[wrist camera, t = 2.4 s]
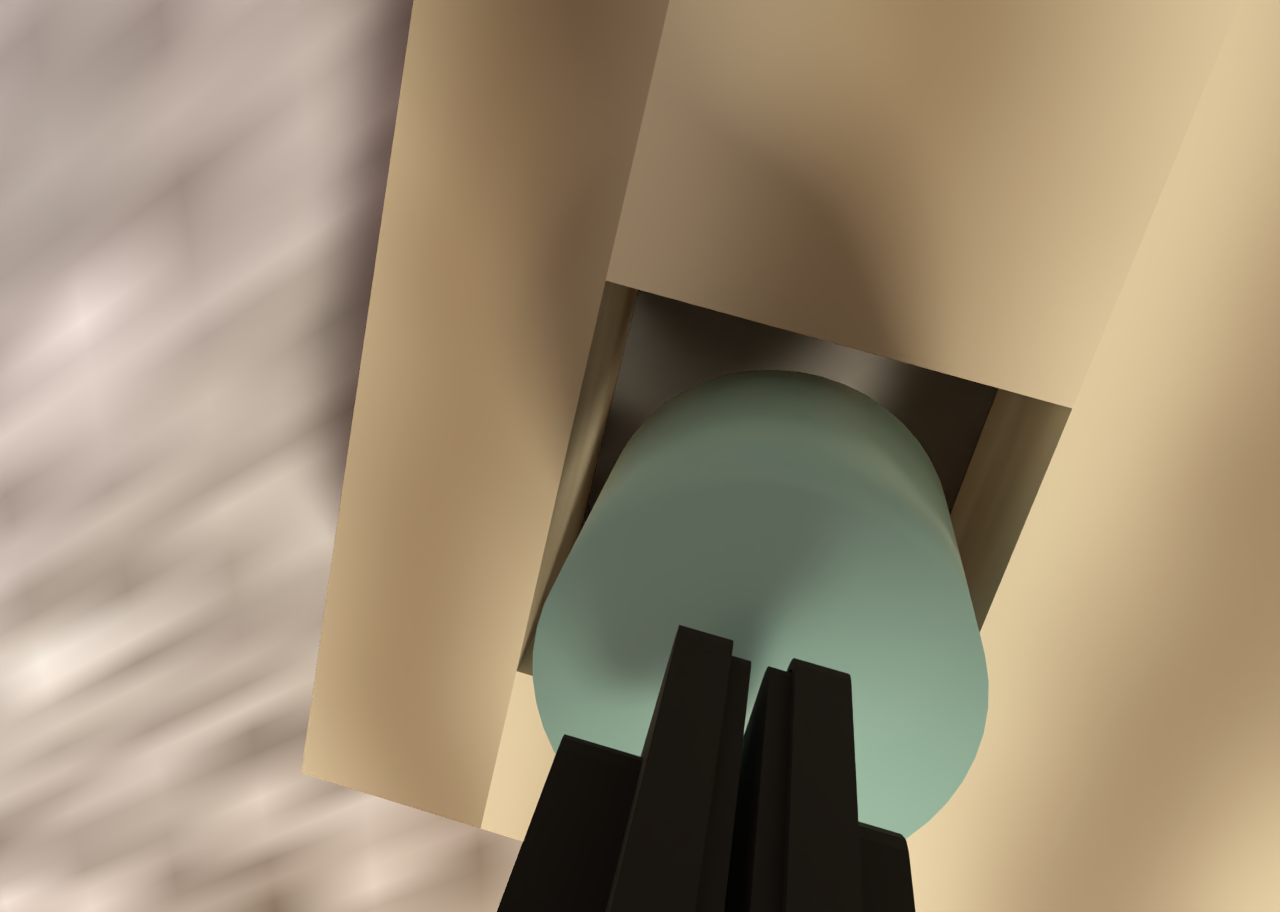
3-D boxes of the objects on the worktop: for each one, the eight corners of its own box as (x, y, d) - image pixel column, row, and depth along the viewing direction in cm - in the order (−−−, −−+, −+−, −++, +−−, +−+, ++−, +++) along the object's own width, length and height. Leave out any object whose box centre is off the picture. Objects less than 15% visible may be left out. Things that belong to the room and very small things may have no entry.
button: (1001, 425, 14) (1060, 560, 11) (885, 724, 16) (902, 928, 12) (646, 327, 15) (584, 425, 11) (571, 631, 16) (495, 802, 13)
